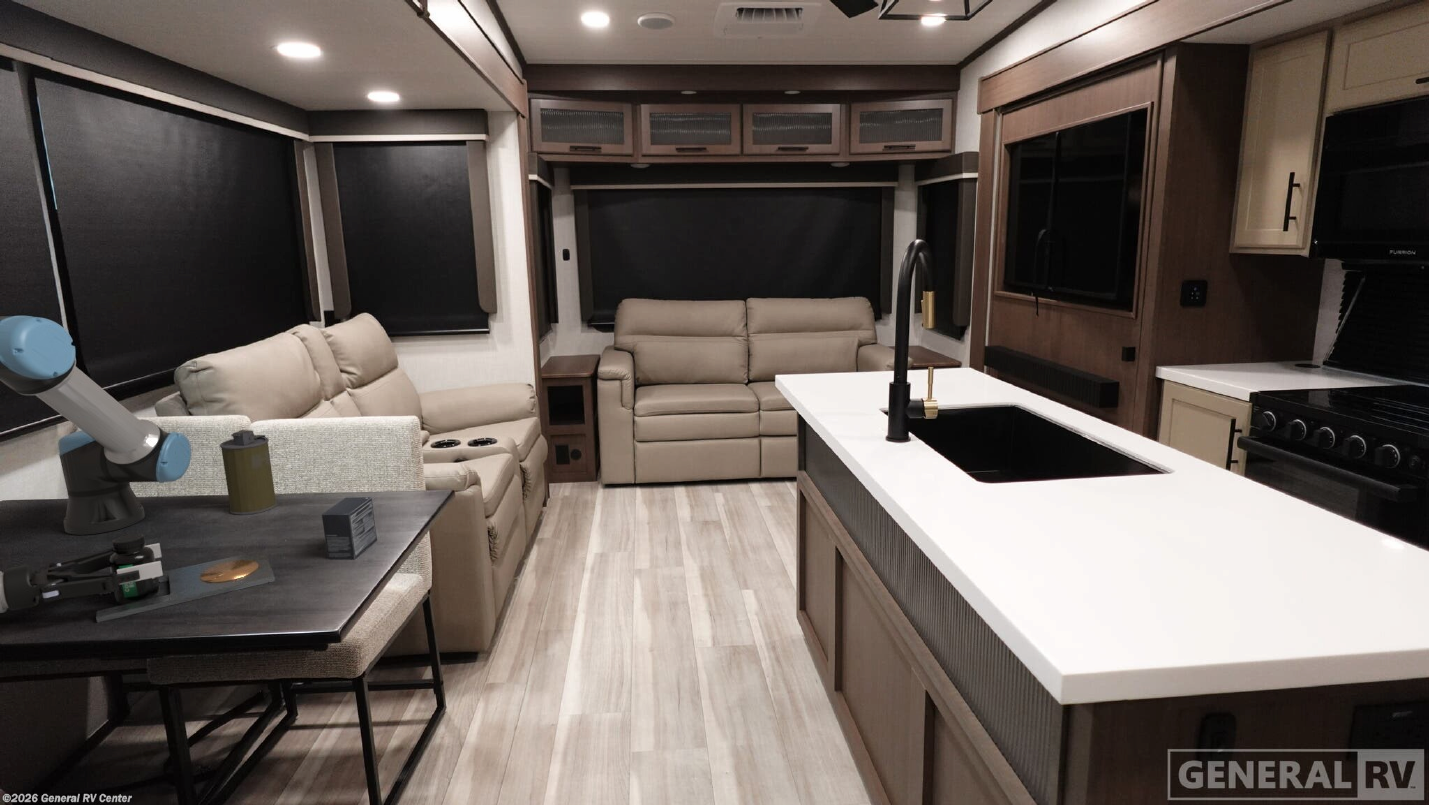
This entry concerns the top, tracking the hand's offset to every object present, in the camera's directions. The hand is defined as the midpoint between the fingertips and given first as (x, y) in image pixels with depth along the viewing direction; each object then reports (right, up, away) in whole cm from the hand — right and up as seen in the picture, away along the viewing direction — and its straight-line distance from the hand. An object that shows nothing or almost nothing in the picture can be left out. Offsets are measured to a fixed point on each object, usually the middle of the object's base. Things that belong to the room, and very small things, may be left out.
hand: (161, 558), depth 147 cm
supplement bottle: (-4, -7, -1) cm, 8 cm away
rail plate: (+3, -6, +3) cm, 8 cm away
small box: (+27, -2, +20) cm, 34 cm away
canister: (-10, +3, +46) cm, 48 cm away
